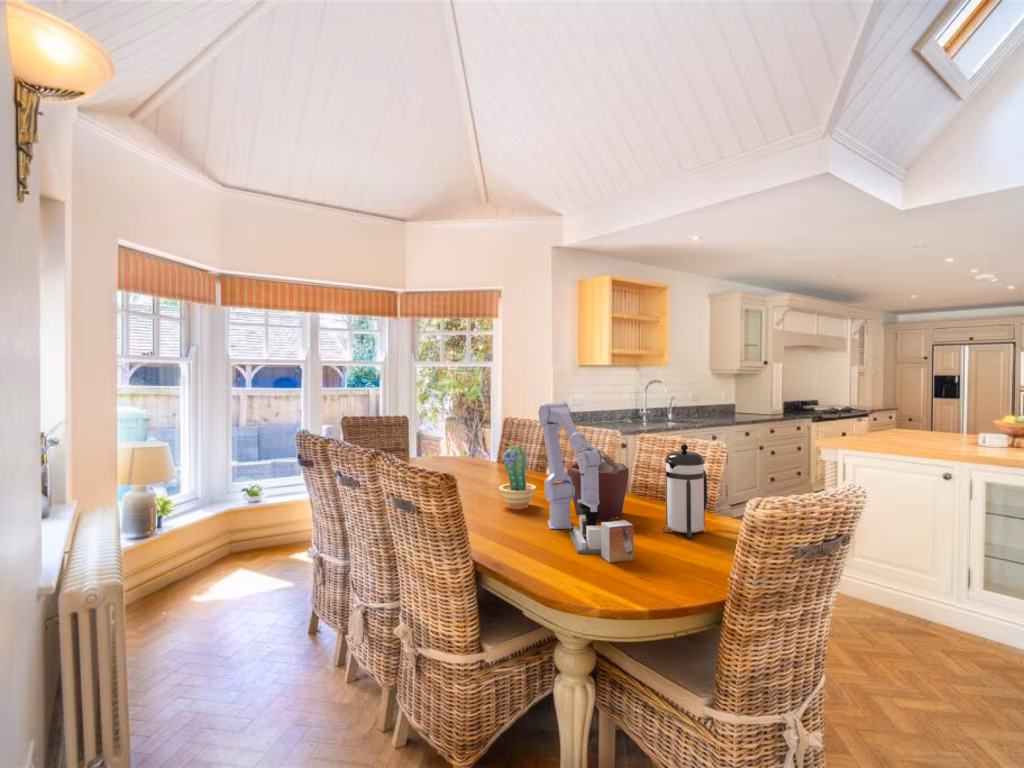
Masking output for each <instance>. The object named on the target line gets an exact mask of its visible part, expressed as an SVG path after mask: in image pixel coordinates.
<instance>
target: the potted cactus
mask: <svg viewBox="0 0 1024 768" xmlns="http://www.w3.org/2000/svg"><path fill="white" fill-rule="evenodd" d="M501 458H502V460H503V465H504V468H505V471H506V473H507V476H508V480H509V483H505V484H501V485H500V486H498V490H499V493H501V495H502V498H503V500H504V501H505V503H506V507H508V508H507V509H510V508H511V510H524V509H523V508H525V509H527V508H529V507H528V506H529V503H530V502H531V501H532V499H533V496H534V494H535V492H536V491H537V490H536V489H537V486H536V485H534V484H530V483H527V481H526V472H525V471H526V469H527V467H526V466H527V454H526V451H525V450H523V448H522V446H521V445H518V444H516V445H509V446H508V448H507V450H506V451H505V452H503V455H502V456H501Z"/></svg>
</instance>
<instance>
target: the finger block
mask: <svg viewBox="0 0 1024 768" xmlns="http://www.w3.org/2000/svg"><path fill="white" fill-rule="evenodd" d="M578 520H579V521H578V524H579V525H578V527H579V530H580V532H581V534H582V536H583V537H586V526H587V520H586V516H585V515H579V516H578ZM596 526H598V523H597V524H596Z"/></svg>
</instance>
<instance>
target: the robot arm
mask: <svg viewBox="0 0 1024 768" xmlns="http://www.w3.org/2000/svg"><path fill="white" fill-rule="evenodd" d="M537 413H538V419H539V420H538V421H539V424H540V425H539V426H540V428H542V431H543V437H544V438H543V439H544V444H545V451H546V457H547V465H548V469H549V475H548V476H547V477H546V479H545V480H544V481H543V482H544V488H543V489H544V490H543V492H544V493H543V494H544V498H545V499H546V500H547V502H548V503H549V519H548V520H547V524H548V527H549V529H550V530H562V529H563V530H567V529H569V530H570V529H573V525H572V522H571V502H572V501H573V497H574V494H575V488H574V485H573V483H572V480H571V477H570V476H568V473H566V472H565V469H564V461H563V457H562V450H561V444H560V438H559V432H558V429H559V428H560V427H561V428H562V429H563V430H564V432H565V433H566V434H567V436H568V437H569V438H568V443H569V445H570V446H571V448H572V450H573V451H574V453H575V455H576V463H578V466H579V471H580V473H581V499H580V500H577V501H578V503H582V504H580V506H581V509H582V511H583V515H585V516H586V520H587V526H596V524H597V525H598V523H597V522H598V521H597V519H598V517H599V514H600V513H601V510H600V509H597V506H598V504H599V476H598V466H600V465H601V463H602V462H603V458H602V455H601V453H600V451H599V450H600V449H599V448H595V447H594V446H593V445H592V444H591V443H590V441H589V440H588V439H587V437H586V436H585V434H584V433H583V432H579V430H578V429H577V426H576V425H575V423H574V421H573V419H572V417H571V408H570V407H569V404H568V403H567V402H565V401H563V402H562V401H561V402H551V403H546V402H545V403H543V402H542V404H540V407H539V409H538V411H537ZM598 449H599V450H598Z"/></svg>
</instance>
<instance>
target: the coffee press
mask: <svg viewBox="0 0 1024 768" xmlns="http://www.w3.org/2000/svg"><path fill="white" fill-rule="evenodd" d="M680 449H681V450H673V451H671V452H669V453H667V455H666V457H665V458H664V462H665V472H664V473H665V477H664V478H665V480H664V481H665V484H664V485H665V487H664V488H665V524H664V526H663V527H662V529H661V531H662V532H663V533H664V531H666V533H668V531H670V530H672V531H675V532H678V533H685V534H686V539H687V540H692V539H693V534H692V533H698V532H699V533H700V531H702V533H704V534H709V530H708V528H707V527H706V523H705V521H706V520H705V517H706V516H705V510H706V508H707V503H708V478H707V473H706V470H705V469H704V466H705V459H704V458H703V457H704V456H703V455H701V454H700V453H698V452H695V451H691V450H689V451H688V449H689V447H688V445H687V444H685V443H684V444H683V443H682V445H681V446H680ZM666 527H668V528H667V529H666V530H665V528H666ZM704 528H705V529H706V531H704V530H703V529H704ZM705 532H706V533H705Z"/></svg>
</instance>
